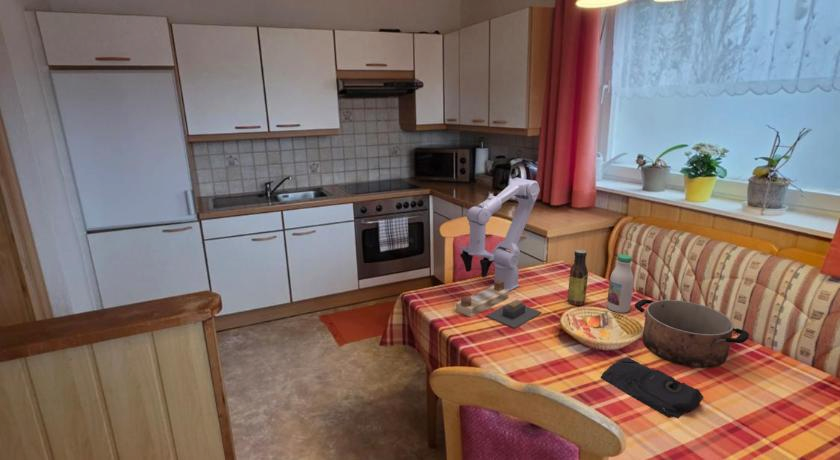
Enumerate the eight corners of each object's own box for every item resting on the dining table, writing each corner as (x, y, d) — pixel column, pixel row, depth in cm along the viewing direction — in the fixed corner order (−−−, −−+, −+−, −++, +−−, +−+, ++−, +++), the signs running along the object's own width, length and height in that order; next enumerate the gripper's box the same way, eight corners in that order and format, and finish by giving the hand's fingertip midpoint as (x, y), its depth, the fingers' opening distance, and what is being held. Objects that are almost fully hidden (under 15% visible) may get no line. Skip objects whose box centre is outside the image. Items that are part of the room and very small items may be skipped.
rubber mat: (513, 302, 168) (513, 301, 167) (541, 313, 159) (541, 312, 159) (485, 316, 157) (485, 315, 157) (514, 328, 149) (514, 327, 148)
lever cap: (514, 308, 162) (514, 298, 161) (525, 312, 159) (525, 302, 158) (502, 315, 157) (503, 304, 156) (513, 319, 154) (514, 308, 153)
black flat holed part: (628, 360, 131) (630, 346, 130) (708, 401, 114) (712, 384, 112) (595, 378, 123) (597, 362, 122) (676, 424, 106) (679, 407, 104)
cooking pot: (616, 340, 141) (620, 309, 138) (649, 319, 155) (653, 290, 152) (726, 385, 119) (733, 349, 116) (753, 355, 133) (760, 322, 130)
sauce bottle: (586, 306, 164) (591, 255, 158) (568, 305, 165) (573, 254, 160) (583, 299, 170) (589, 249, 164) (566, 297, 171) (571, 248, 166)
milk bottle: (625, 304, 166) (632, 252, 160) (633, 313, 158) (640, 260, 153) (603, 303, 167) (609, 252, 161) (610, 313, 159) (616, 259, 154)
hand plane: (493, 292, 176) (494, 278, 174) (508, 298, 171) (509, 283, 170) (455, 310, 161) (455, 295, 160) (470, 317, 157) (470, 301, 155)
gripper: (455, 237, 169) (454, 271, 172) (486, 246, 158) (484, 282, 162) (467, 233, 173) (466, 266, 177) (498, 241, 163) (496, 276, 167)
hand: (476, 273), depth 170 cm, fingers open, 7 cm apart
